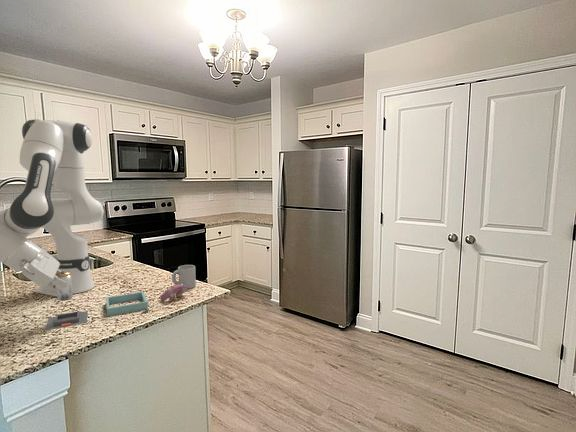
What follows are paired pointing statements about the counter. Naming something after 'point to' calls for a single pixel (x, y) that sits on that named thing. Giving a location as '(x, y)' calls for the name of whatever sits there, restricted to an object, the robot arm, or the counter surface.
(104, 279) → the counter surface
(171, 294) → the video game controller
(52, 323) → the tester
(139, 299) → the bin
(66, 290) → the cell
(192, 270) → the cup
